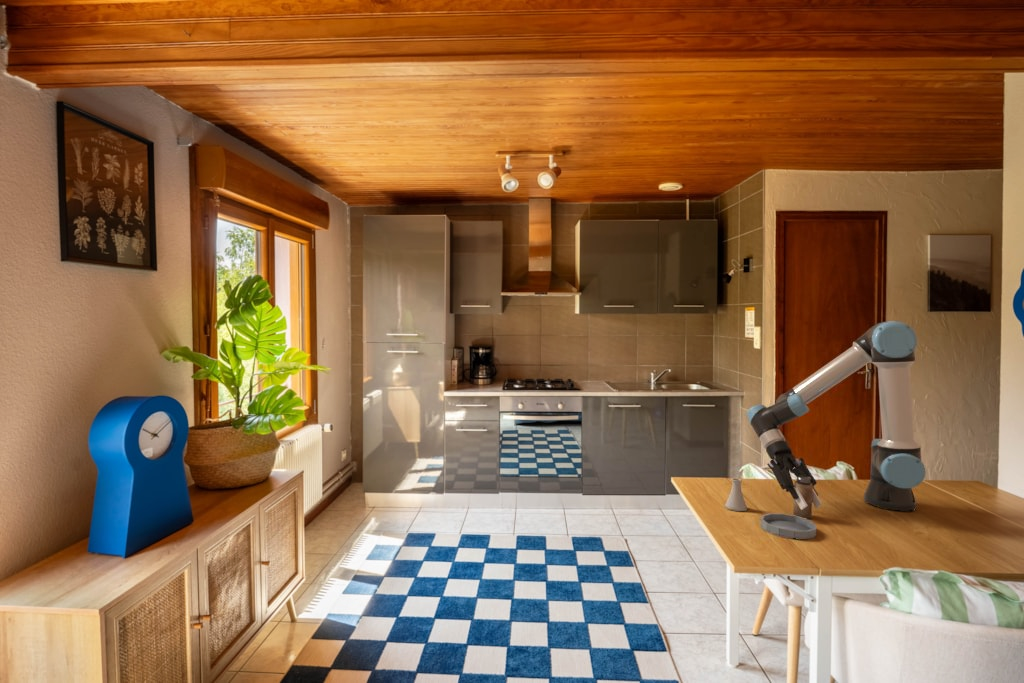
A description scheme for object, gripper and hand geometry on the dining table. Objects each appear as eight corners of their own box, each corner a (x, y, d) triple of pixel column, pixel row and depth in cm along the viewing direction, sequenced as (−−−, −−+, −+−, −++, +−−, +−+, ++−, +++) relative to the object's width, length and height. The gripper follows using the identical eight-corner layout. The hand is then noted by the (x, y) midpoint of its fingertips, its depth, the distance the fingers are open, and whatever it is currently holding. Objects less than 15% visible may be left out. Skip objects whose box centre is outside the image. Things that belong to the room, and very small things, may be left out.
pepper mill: (806, 513, 179) (807, 475, 178) (814, 519, 174) (816, 479, 173) (790, 513, 179) (791, 474, 178) (798, 519, 174) (800, 479, 173)
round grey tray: (799, 521, 172) (799, 513, 172) (826, 539, 157) (827, 531, 157) (752, 520, 172) (752, 513, 172) (775, 539, 157) (775, 531, 157)
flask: (749, 512, 179) (750, 483, 178) (726, 511, 180) (727, 481, 180) (744, 505, 186) (745, 477, 186) (722, 504, 187) (723, 475, 187)
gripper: (791, 449, 193) (827, 510, 177) (748, 452, 188) (782, 514, 173) (803, 438, 188) (841, 499, 172) (759, 440, 183) (795, 503, 167)
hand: (811, 506), depth 172 cm, fingers closed on pepper mill, 5 cm apart
